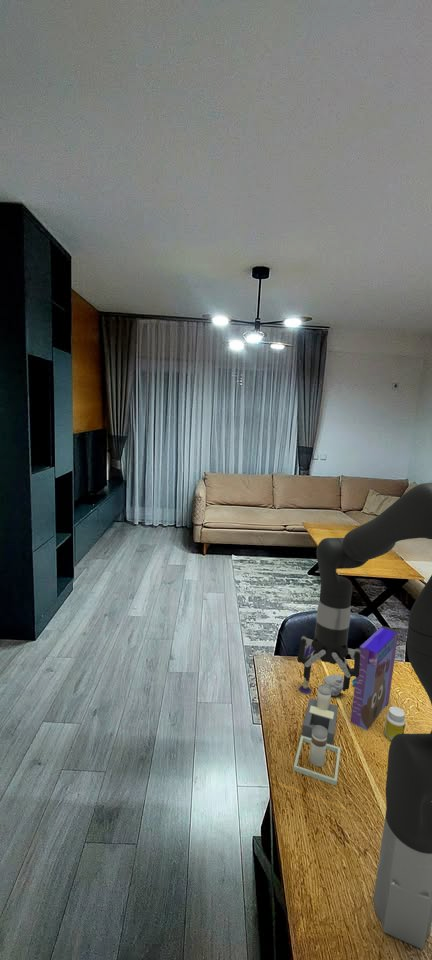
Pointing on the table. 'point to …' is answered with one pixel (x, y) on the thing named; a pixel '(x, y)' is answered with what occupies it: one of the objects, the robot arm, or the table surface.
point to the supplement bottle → (394, 723)
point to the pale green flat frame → (312, 773)
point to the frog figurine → (334, 683)
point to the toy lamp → (305, 688)
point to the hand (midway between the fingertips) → (325, 684)
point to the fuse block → (321, 714)
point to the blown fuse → (318, 745)
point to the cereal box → (374, 677)
